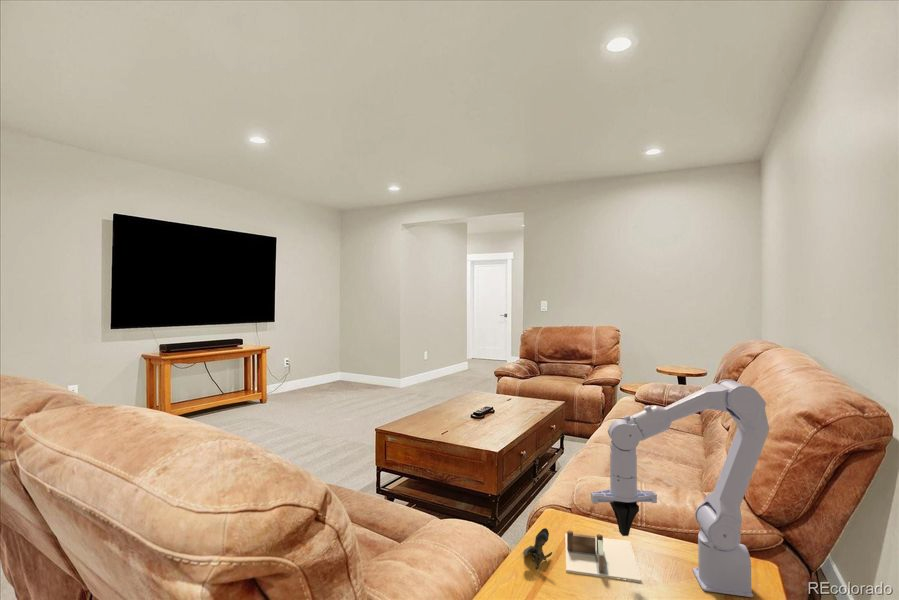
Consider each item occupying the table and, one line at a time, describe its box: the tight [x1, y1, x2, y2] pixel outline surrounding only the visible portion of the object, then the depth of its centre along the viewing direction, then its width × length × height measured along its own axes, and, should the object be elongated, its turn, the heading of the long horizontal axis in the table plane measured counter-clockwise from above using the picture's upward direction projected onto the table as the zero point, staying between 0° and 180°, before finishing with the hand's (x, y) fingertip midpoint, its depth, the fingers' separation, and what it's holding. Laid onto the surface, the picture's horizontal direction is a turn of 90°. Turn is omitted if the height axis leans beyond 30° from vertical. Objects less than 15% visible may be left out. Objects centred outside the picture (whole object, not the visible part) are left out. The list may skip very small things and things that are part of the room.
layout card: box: [564, 532, 643, 583], centre depth 107 cm, size 16×17×1 cm
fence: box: [566, 530, 604, 554], centre depth 108 cm, size 8×1×4 cm, turn 76°
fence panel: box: [598, 540, 604, 572], centre depth 103 cm, size 7×1×4 cm, turn 164°
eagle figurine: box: [522, 527, 553, 570], centre depth 106 cm, size 8×7×9 cm
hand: (623, 533), depth 101 cm, fingers closed
